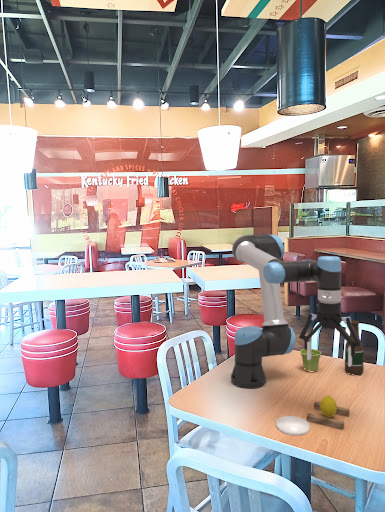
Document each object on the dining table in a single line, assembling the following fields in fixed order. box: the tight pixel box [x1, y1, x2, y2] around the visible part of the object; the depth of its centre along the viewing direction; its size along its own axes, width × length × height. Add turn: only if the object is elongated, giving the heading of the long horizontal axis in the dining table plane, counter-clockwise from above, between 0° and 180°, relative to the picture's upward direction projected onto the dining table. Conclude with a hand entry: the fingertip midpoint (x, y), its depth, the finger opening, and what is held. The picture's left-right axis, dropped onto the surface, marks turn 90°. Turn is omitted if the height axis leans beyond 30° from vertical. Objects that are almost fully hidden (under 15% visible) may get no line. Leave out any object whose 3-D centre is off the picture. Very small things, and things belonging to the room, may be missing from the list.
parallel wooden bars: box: [306, 401, 350, 430], centre depth 137 cm, size 12×12×2 cm
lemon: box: [319, 395, 338, 418], centre depth 137 cm, size 6×6×8 cm
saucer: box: [275, 415, 311, 436], centre depth 132 cm, size 11×11×1 cm
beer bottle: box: [344, 319, 365, 376], centre depth 177 cm, size 8×8×24 cm
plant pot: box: [299, 348, 322, 372], centre depth 181 cm, size 9×9×9 cm
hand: (329, 362), depth 135 cm, fingers open, 13 cm apart
